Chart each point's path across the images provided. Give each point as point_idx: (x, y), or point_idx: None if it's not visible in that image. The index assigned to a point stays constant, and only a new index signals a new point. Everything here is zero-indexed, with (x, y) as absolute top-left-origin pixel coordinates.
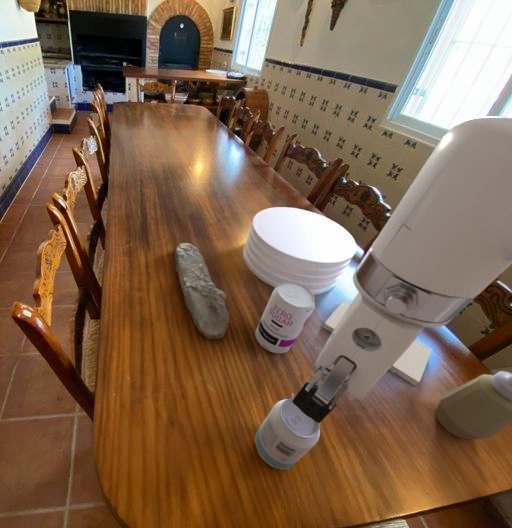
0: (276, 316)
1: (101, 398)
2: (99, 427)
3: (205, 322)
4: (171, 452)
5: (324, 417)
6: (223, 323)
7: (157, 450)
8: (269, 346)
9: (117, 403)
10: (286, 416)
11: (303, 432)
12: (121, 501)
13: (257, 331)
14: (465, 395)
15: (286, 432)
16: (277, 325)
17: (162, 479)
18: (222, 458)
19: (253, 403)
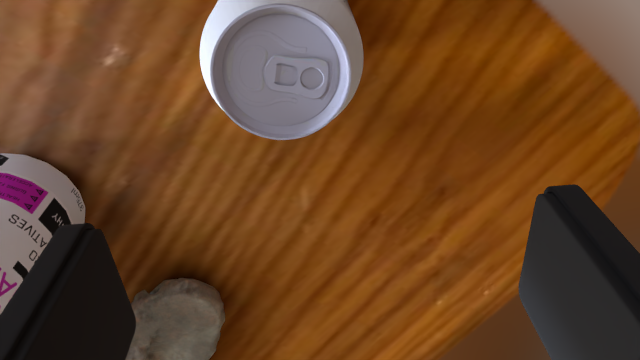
0: None
1: (511, 297)
2: None
3: (199, 331)
4: (491, 151)
5: (612, 225)
6: (155, 311)
7: (509, 170)
8: (70, 199)
9: (495, 276)
10: (310, 102)
11: (310, 36)
12: (628, 145)
13: None
14: None
15: (354, 70)
16: (27, 273)
17: (546, 126)
18: (415, 74)
19: None
